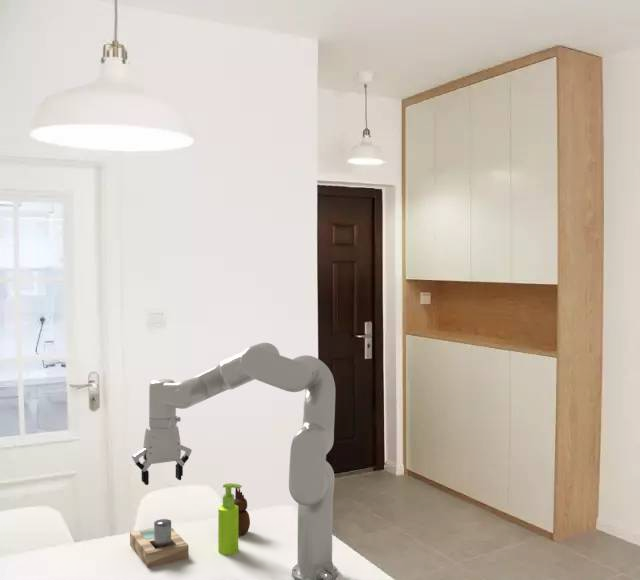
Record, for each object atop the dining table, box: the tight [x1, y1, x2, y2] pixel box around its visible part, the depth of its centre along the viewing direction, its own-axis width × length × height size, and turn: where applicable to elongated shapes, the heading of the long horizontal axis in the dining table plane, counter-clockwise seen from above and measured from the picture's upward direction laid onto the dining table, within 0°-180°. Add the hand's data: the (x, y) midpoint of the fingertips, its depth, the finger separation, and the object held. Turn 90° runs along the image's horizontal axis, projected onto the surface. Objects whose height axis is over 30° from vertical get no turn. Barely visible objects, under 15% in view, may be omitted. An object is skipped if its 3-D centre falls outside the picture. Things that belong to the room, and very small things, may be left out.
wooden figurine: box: [234, 488, 251, 537], centre depth 218 cm, size 7×6×15 cm
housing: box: [129, 527, 189, 568], centre depth 204 cm, size 18×12×4 cm, turn 30°
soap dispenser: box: [217, 483, 243, 556], centre depth 204 cm, size 6×7×20 cm
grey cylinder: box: [153, 518, 172, 549], centre depth 200 cm, size 5×5×10 cm
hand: (162, 481), depth 200 cm, fingers open, 9 cm apart
